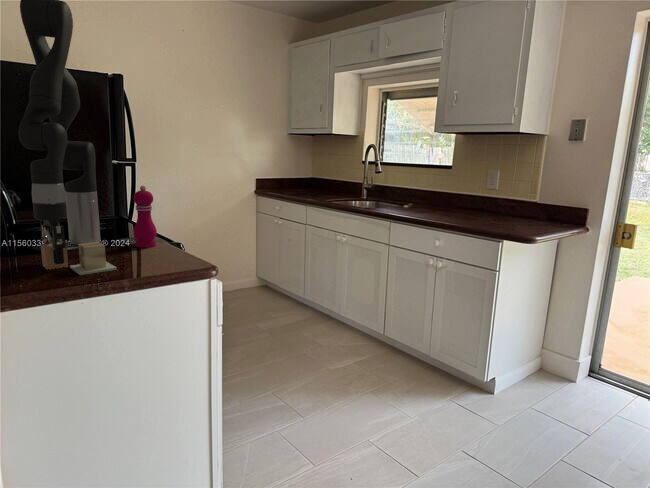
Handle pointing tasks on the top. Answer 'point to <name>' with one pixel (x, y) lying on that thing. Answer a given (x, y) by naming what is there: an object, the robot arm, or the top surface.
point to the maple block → (92, 255)
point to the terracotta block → (52, 257)
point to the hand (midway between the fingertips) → (55, 260)
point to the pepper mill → (144, 219)
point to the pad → (82, 271)
